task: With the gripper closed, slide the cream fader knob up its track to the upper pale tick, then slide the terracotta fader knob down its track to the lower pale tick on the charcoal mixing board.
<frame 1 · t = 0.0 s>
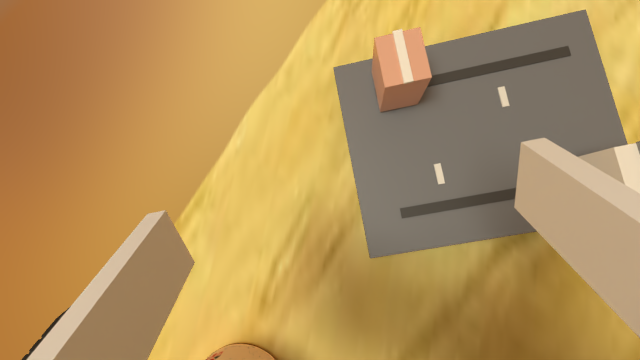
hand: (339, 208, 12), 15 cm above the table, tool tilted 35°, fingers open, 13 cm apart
fader b: (398, 73, 23), point 5 cm above the table, slide at 12.0 cm
fader a: (616, 176, 20), point 5 cm above the table, slide at 0.0 cm
mixer board: (468, 140, 26), on the table
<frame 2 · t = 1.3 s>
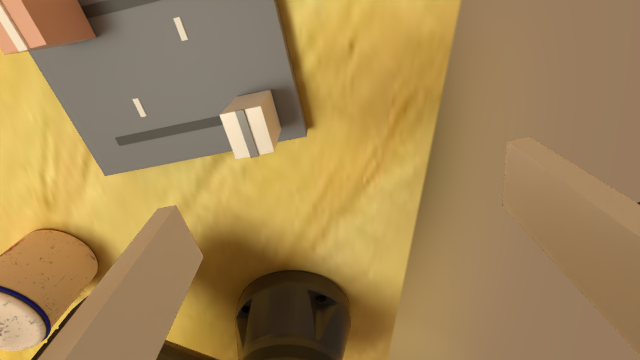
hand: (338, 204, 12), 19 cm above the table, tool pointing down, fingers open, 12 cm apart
fader b: (37, 17, 21), point 5 cm above the table, slide at 12.0 cm
teacup with lid: (63, 263, 39), on the table
fader a: (253, 123, 25), point 5 cm above the table, slide at 0.0 cm
mixer board: (175, 65, 27), on the table
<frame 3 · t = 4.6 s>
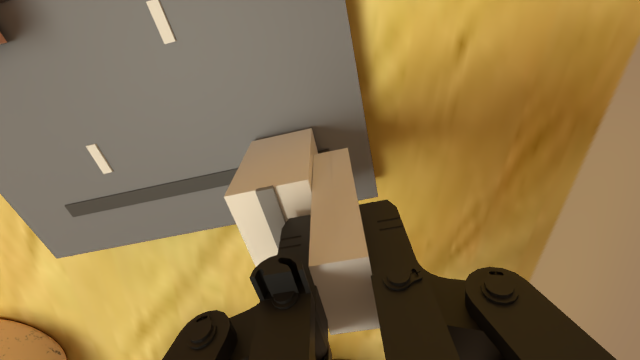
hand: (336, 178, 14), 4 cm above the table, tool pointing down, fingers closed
teacup with lid: (20, 355, 28), on the table
fader a: (286, 193, 14), point 5 cm above the table, slide at 0.6 cm, touching gripper
mixer board: (157, 85, 16), on the table
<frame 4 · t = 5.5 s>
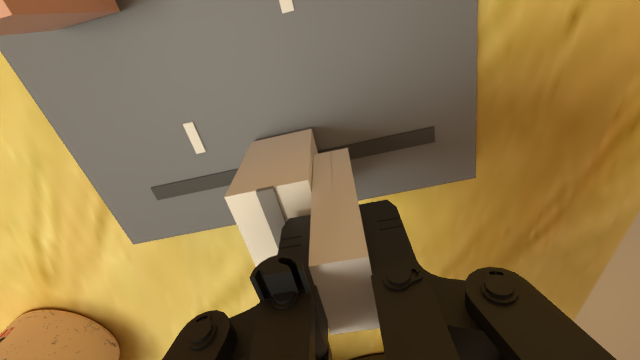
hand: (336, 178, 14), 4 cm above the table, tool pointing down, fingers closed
teacup with lid: (71, 348, 27), on the table
fader a: (286, 193, 14), point 5 cm above the table, slide at 5.8 cm, touching gripper
mixer board: (253, 61, 16), on the table
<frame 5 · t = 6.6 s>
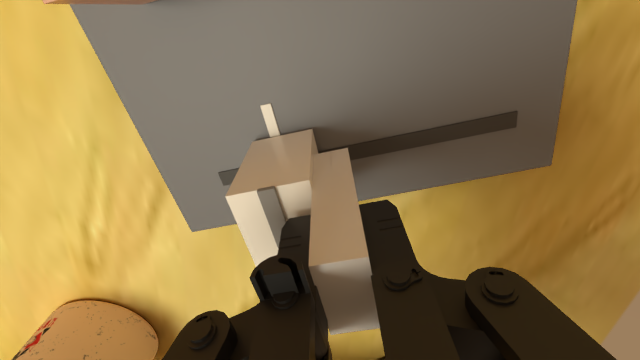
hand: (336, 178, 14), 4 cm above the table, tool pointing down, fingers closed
teacup with lid: (108, 340, 27), on the table
fader a: (286, 193, 14), point 5 cm above the table, slide at 9.6 cm, touching gripper
mixer board: (330, 43, 15), on the table
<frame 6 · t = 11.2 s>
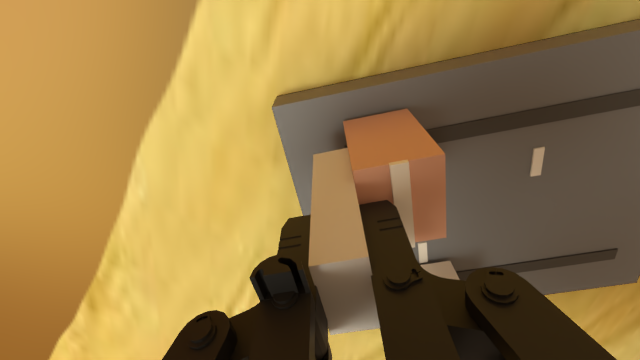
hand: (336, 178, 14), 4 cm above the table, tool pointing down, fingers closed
fader b: (389, 173, 13), point 5 cm above the table, slide at 11.8 cm, touching gripper
fader a: (439, 320, 18), point 5 cm above the table, slide at 10.0 cm
mixer board: (468, 190, 19), on the table
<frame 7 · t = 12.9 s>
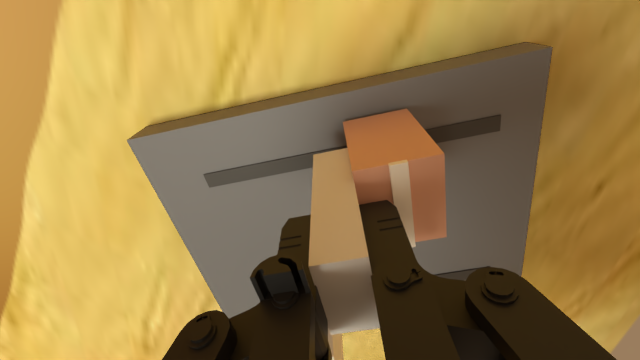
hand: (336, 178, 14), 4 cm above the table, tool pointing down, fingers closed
fader b: (389, 173, 13), point 5 cm above the table, slide at 4.4 cm, touching gripper
fader a: (312, 337, 18), point 5 cm above the table, slide at 10.0 cm
mixer board: (349, 211, 20), on the table
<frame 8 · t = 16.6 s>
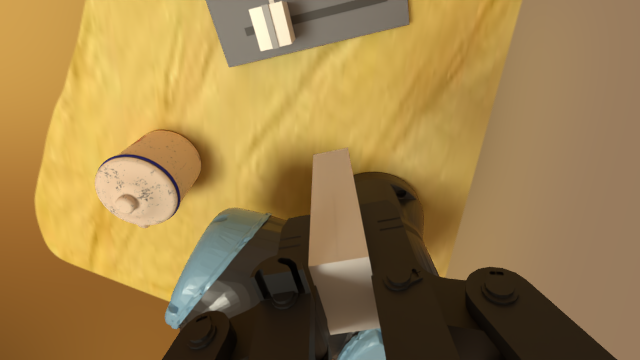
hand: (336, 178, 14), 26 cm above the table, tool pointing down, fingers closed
teacup with lid: (169, 167, 43), on the table
fader a: (274, 25, 30), point 5 cm above the table, slide at 10.0 cm
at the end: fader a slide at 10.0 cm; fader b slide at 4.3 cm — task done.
